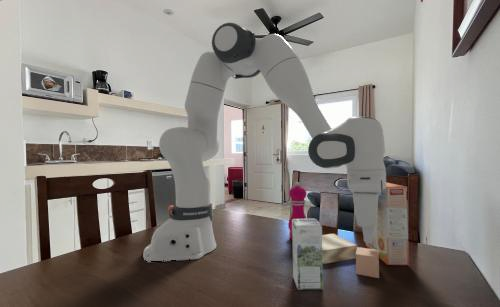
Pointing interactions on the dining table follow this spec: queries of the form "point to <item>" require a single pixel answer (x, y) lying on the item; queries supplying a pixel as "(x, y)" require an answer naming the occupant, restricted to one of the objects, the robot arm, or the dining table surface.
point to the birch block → (337, 249)
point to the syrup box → (307, 254)
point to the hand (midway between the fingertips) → (368, 235)
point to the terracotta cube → (367, 262)
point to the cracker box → (391, 226)
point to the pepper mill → (297, 204)
